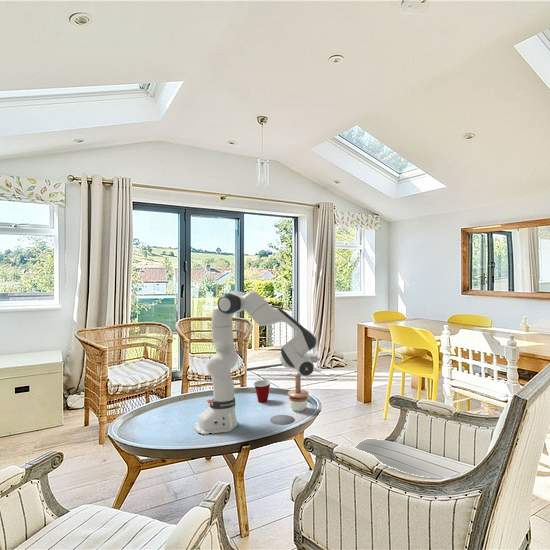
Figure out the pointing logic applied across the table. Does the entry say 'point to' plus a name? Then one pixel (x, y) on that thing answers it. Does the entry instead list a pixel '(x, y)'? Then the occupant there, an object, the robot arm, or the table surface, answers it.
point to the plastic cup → (262, 390)
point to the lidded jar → (298, 403)
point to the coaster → (282, 420)
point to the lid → (298, 388)
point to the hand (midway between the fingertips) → (296, 354)
